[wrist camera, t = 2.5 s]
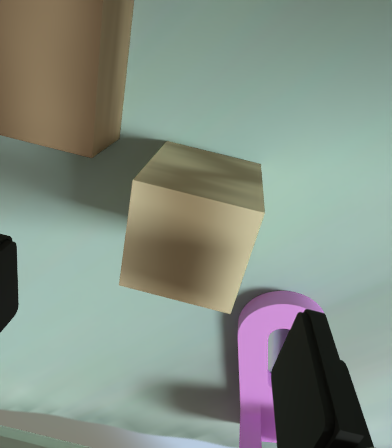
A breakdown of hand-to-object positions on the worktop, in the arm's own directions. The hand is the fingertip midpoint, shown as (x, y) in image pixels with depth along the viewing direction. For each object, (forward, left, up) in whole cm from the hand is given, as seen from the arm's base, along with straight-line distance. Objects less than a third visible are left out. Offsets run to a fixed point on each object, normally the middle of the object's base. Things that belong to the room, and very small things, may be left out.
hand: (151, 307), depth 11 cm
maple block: (-1, 0, -9) cm, 9 cm away
